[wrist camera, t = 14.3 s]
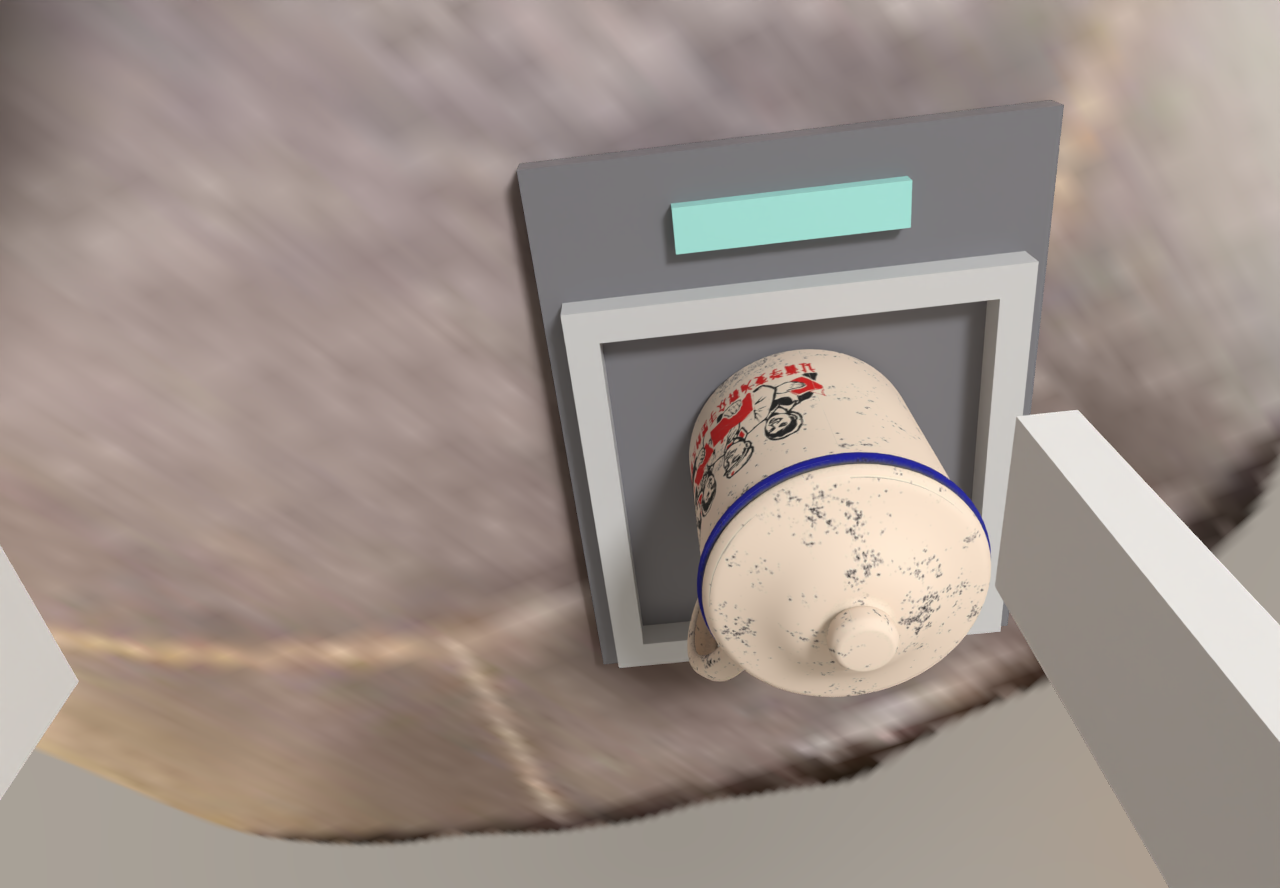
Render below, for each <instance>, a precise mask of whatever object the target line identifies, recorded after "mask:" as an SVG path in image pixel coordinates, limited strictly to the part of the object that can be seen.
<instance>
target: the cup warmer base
mask: <svg viewBox="0 0 1280 888" xmlns="http://www.w3.org/2000/svg"><path fill="white" fill-rule="evenodd" d="M1063 108H1064V105H1062V104H1060V103H1057V102H1055V101H1052V100H1047V101H1039V102H1031V103H1022V104H1014V105H1006V106H997V107H989V108H981V109H972V110H964V111H956V112H947V113H939V114H931V115H922V116H914V117H906V118H897V119H889V120H881V121H872V122H864V123H855V124H847V125H839V126H830V127H822V128H814V129H805V130H797V131H789V132H780V133H772V134H764V135H755V136H747V137H739V138H730V139H722V140H714V141H705V142H697V143H689V144H680V145H672V146H664V147H655V148H647V149H638V150H630V151H622V152H613V153H605V154H597V155H588V156H580V157H572V158H563V159H555V160H547V161H538V162H530V163H522V164H519V166H518V168H517V176H518V181H519V187H520V193H521V198H522V204H523V210H524V215H525V221H526V227H527V232H528V238H529V244H530V249H531V255H532V261H533V266H534V272H535V278H536V283H537V289H538V295H539V300H540V306H541V312H542V317H543V323H544V329H545V334H546V340H547V346H548V351H549V357H550V363H551V368H552V374H553V380H554V385H555V391H556V397H557V402H558V408H559V414H560V419H561V425H562V431H563V436H564V442H565V448H566V453H567V459H568V465H569V470H570V476H571V482H572V487H573V493H574V499H575V504H576V510H577V516H578V521H579V527H580V533H581V538H582V544H583V550H584V555H585V561H586V567H587V572H588V578H589V584H590V589H591V595H592V601H593V606H594V612H595V618H596V623H597V629H598V635H599V640H600V646H601V652H602V657H603V663H604V664H612V663H618V665H619V668H625V667H635V666H646V665H656V664H666V663H677V662H687V661H689V658H688V650H687V641H688V631H689V625H690V621H691V617H692V613H693V610H694V607H695V604H696V601H697V599H698V595H697V574H698V566H699V562H700V557H701V555H700V547H699V539H698V530H697V522H696V514H695V505H694V497H693V489H692V481H691V472H690V464H689V449H690V441H691V436H692V432H693V428H694V425H695V423H696V420H697V418H698V416H699V414H700V412H701V410H702V408H703V407H704V405H705V403H706V402H707V401H708V399H709V398H710V396H711V395H712V394H713V393H714V392H715V391H716V389H717V388H718V387H719V386H720V385H722V384H723V383H724V382H725V381H726V380H727V379H728V378H729V377H731V376H732V375H733V374H735V373H736V372H738V371H739V370H741V369H742V368H744V367H745V366H747V365H749V364H751V363H753V362H755V361H757V360H760V359H762V358H764V357H767V356H770V355H773V354H777V353H781V352H786V351H792V350H802V349H819V350H828V351H834V352H838V353H843V354H846V355H849V356H852V357H855V358H857V359H859V360H861V361H863V362H865V363H867V364H868V365H870V366H872V367H873V368H875V369H876V370H877V371H879V372H880V373H881V374H882V375H883V376H885V377H886V378H887V379H888V380H889V381H890V382H891V384H892V385H893V386H894V387H895V388H896V390H897V391H898V393H899V394H900V396H901V397H902V399H903V400H904V402H905V404H906V406H907V407H908V409H909V411H910V412H911V414H912V416H913V417H914V419H915V421H916V423H917V424H918V426H919V428H920V429H921V431H922V433H923V434H924V436H925V438H926V440H927V441H928V443H929V445H930V446H931V448H932V450H933V451H934V453H935V455H936V456H937V458H938V460H939V462H940V463H941V465H942V467H943V468H944V470H945V472H946V473H947V475H948V477H949V479H950V480H951V481H953V482H954V483H955V484H956V485H957V486H958V487H959V488H960V489H961V490H963V491H964V493H965V494H966V495H967V496H968V497H969V498H970V500H971V501H972V502H973V504H974V505H975V507H976V508H977V510H978V511H979V513H980V515H981V517H982V519H983V521H984V524H985V527H986V530H987V532H988V536H989V541H990V547H991V578H990V583H989V589H988V592H987V595H986V599H985V602H984V604H983V606H982V609H981V611H980V613H979V615H978V617H977V619H976V621H975V623H974V624H973V626H972V627H971V629H970V630H969V632H968V633H967V634H966V635H969V634H979V633H990V632H1000V629H1001V626H1007V625H1008V615H1009V610H1008V608H1007V606H1006V605H1005V603H1004V601H1003V600H1002V598H1001V596H1000V594H999V593H998V591H997V589H996V587H995V581H996V573H997V565H998V557H999V549H1000V541H1001V534H1002V526H1003V518H1004V510H1005V502H1006V494H1007V487H1008V479H1009V471H1010V463H1011V455H1012V447H1013V440H1014V432H1015V424H1016V416H1025V415H1030V412H1031V403H1032V394H1033V385H1034V376H1035V366H1036V357H1037V348H1038V339H1039V329H1040V320H1041V311H1042V302H1043V292H1044V283H1045V274H1046V265H1047V256H1048V246H1049V237H1050V228H1051V219H1052V209H1053V200H1054V191H1055V182H1056V173H1057V163H1058V154H1059V145H1060V136H1061V126H1062V117H1063ZM718 647H719V644H718Z"/></svg>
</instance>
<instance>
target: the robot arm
mask: <svg viewBox="0 0 1280 888" xmlns="http://www.w3.org/2000/svg"><path fill="white" fill-rule="evenodd" d="M995 587H996V589H997V591H998V593H999V594H1000V596H1001V598H1002V600H1003V601H1004V603H1005V605H1006V606H1007V608H1008V610H1009V612H1010V613H1011V615H1012V617H1013V619H1014V620H1015V622H1016V624H1017V625H1018V627H1019V629H1020V631H1021V632H1022V634H1023V636H1024V638H1025V639H1026V641H1027V643H1028V645H1029V646H1030V648H1031V650H1032V651H1033V653H1034V655H1035V657H1036V658H1037V660H1038V662H1039V664H1040V665H1041V667H1042V669H1043V670H1044V672H1045V674H1046V676H1047V677H1048V679H1049V681H1050V683H1051V684H1052V686H1053V688H1054V690H1055V691H1056V693H1057V695H1058V696H1059V698H1060V700H1061V702H1062V703H1063V705H1064V707H1065V708H1066V710H1067V712H1068V714H1069V715H1070V717H1071V719H1072V720H1073V722H1074V724H1075V726H1076V727H1077V729H1078V731H1079V733H1080V734H1081V736H1082V738H1083V740H1084V741H1085V743H1086V745H1087V747H1088V748H1089V750H1090V752H1091V754H1092V755H1093V757H1094V759H1095V760H1096V762H1097V764H1098V766H1099V767H1100V769H1101V771H1102V772H1103V774H1104V776H1105V778H1106V779H1107V781H1108V783H1109V785H1110V786H1111V788H1112V790H1113V792H1114V793H1115V795H1116V797H1117V799H1118V800H1119V802H1120V804H1121V805H1122V807H1123V809H1124V811H1125V812H1126V814H1127V816H1128V818H1129V819H1130V821H1131V822H1132V824H1133V826H1134V828H1135V830H1136V831H1137V833H1138V835H1139V837H1140V838H1141V840H1142V842H1143V843H1144V845H1145V847H1146V849H1147V850H1148V852H1149V854H1150V856H1151V857H1152V859H1153V861H1154V863H1155V864H1156V866H1157V868H1158V869H1159V871H1160V873H1161V875H1162V876H1163V878H1164V880H1165V881H1166V883H1167V885H1168V887H1169V888H1280V625H1279V624H1278V623H1277V622H1276V621H1275V620H1274V619H1273V618H1272V616H1271V615H1270V614H1269V613H1268V612H1267V611H1266V610H1265V609H1264V608H1263V607H1262V606H1261V605H1260V604H1259V603H1258V602H1257V600H1255V598H1254V597H1253V596H1252V595H1251V594H1250V593H1249V592H1248V591H1247V590H1246V589H1245V588H1244V587H1243V586H1242V584H1241V583H1239V581H1238V580H1237V579H1236V578H1235V577H1234V576H1233V575H1232V574H1231V573H1230V572H1229V571H1228V570H1227V569H1226V568H1225V566H1224V565H1223V564H1222V563H1221V562H1220V561H1219V560H1218V559H1217V558H1216V557H1215V556H1214V555H1213V554H1212V553H1211V551H1210V550H1209V549H1208V548H1207V547H1206V546H1205V545H1204V544H1203V543H1202V542H1201V541H1200V540H1199V539H1198V538H1197V537H1196V535H1195V534H1194V533H1193V532H1192V531H1191V530H1190V529H1189V528H1188V527H1187V526H1186V525H1185V524H1184V523H1183V522H1182V521H1181V520H1180V518H1179V517H1178V516H1177V515H1176V514H1175V513H1174V512H1173V511H1172V510H1171V509H1170V508H1169V507H1168V506H1167V505H1166V504H1165V502H1164V501H1163V500H1162V499H1161V498H1160V497H1159V496H1158V495H1157V494H1156V493H1155V492H1154V491H1153V490H1152V489H1151V488H1150V486H1149V485H1148V484H1147V483H1146V482H1145V481H1144V480H1143V479H1142V478H1141V477H1140V476H1139V475H1138V474H1137V473H1136V472H1135V471H1134V469H1133V468H1132V467H1131V466H1130V465H1129V464H1128V463H1127V462H1126V461H1125V460H1124V459H1123V458H1122V457H1121V456H1120V455H1119V453H1118V452H1117V451H1116V450H1115V449H1114V448H1113V447H1112V446H1111V445H1110V444H1109V443H1108V442H1107V441H1106V440H1105V439H1104V437H1103V436H1102V435H1101V434H1100V433H1099V432H1098V431H1097V430H1096V429H1095V428H1094V427H1093V426H1092V425H1091V424H1090V423H1089V422H1088V420H1087V419H1086V418H1085V417H1084V416H1083V415H1082V414H1081V413H1080V412H1079V411H1078V410H1072V411H1063V412H1053V413H1044V414H1035V415H1025V416H1016V424H1015V432H1014V440H1013V447H1012V455H1011V463H1010V471H1009V479H1008V487H1007V494H1006V502H1005V510H1004V518H1003V526H1002V534H1001V541H1000V549H999V557H998V565H997V573H996V581H995ZM78 682H79V681H78V679H77V677H76V676H75V674H74V672H73V670H72V669H71V667H70V665H69V664H68V662H67V660H66V658H65V657H64V655H63V653H62V651H61V650H60V648H59V646H58V644H57V643H56V641H55V639H54V638H53V636H52V634H51V632H50V631H49V629H48V627H47V625H46V624H45V622H44V620H43V618H42V617H41V615H40V613H39V611H38V610H37V608H36V606H35V605H34V603H33V601H32V599H31V598H30V596H29V594H28V592H27V591H26V589H25V587H24V585H23V584H22V582H21V580H20V579H19V577H18V575H17V573H16V572H15V570H14V568H13V566H12V565H11V563H10V561H9V559H8V558H7V556H6V554H5V552H4V551H3V549H2V547H1V546H0V800H1V798H2V797H3V795H4V794H5V792H6V791H7V789H8V788H9V786H10V785H11V783H12V782H13V780H14V779H15V777H16V776H17V774H18V773H19V771H20V769H21V768H22V767H23V765H24V763H25V762H26V760H27V759H28V757H29V756H30V754H31V753H32V751H33V750H34V748H35V747H36V745H37V744H38V742H39V741H40V739H41V738H42V736H43V735H44V733H45V732H46V730H47V729H48V727H49V726H50V724H51V723H52V721H53V720H54V718H55V717H56V715H57V714H58V712H59V711H60V709H61V708H62V706H63V705H64V703H65V702H66V700H67V698H68V697H69V695H70V694H71V692H72V691H73V689H74V688H75V686H76V685H77V683H78Z"/></svg>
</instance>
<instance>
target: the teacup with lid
mask: <svg viewBox="0 0 1280 888" xmlns="http://www.w3.org/2000/svg"><path fill="white" fill-rule="evenodd" d="M689 464H690V472H691V481H692V489H693V497H694V505H695V514H696V522H697V530H698V539H699V547H700V555H701V557H700V562H699V566H698V574H697V595H698V599H697V601H696V604H695V607H694V610H693V613H692V617H691V621H690V625H689V631H688V641H687V650H688V658H689V662H690V664H691V666H692V668H693V669H694V670H695V671H696V672H697V673H698V674H700V675H702V676H704V677H705V678H707V679H710V680H712V681H726V680H729V679H731V678H733V677H735V676H737V675H738V674H740V673H741V672H742V671H743V670H745V671H746V672H748V673H749V674H750V675H752V676H754V677H755V678H757V679H759V680H761V681H763V682H765V683H767V684H769V685H771V686H774V687H777V688H780V689H782V690H786V691H789V692H793V693H798V694H803V695H809V696H819V697H845V696H854V695H861V694H867V693H872V692H876V691H879V690H883V689H886V688H889V687H892V686H895V685H898V684H900V683H902V682H905V681H907V680H909V679H911V678H913V677H915V676H917V675H919V674H921V673H922V672H924V671H926V670H927V669H929V668H931V667H932V666H933V665H935V664H936V663H938V662H939V661H940V660H941V659H943V658H944V657H945V656H946V655H947V654H949V653H950V652H951V651H952V650H953V649H954V648H955V647H956V646H957V645H958V644H959V643H960V642H961V640H962V639H963V638H964V637H965V636H966V634H967V633H968V632H969V630H970V629H971V627H972V626H973V624H974V623H975V621H976V619H977V617H978V615H979V613H980V611H981V609H982V606H983V604H984V602H985V599H986V595H987V592H988V589H989V583H990V578H991V547H990V541H989V536H988V532H987V530H986V527H985V524H984V521H983V519H982V517H981V515H980V513H979V511H978V510H977V508H976V507H975V505H974V504H973V502H972V501H971V500H970V498H969V497H968V496H967V495H966V494H965V493H964V491H963V490H961V489H960V488H959V487H958V486H957V485H956V484H955V483H954V482H953V481H951V480H950V479H949V477H948V475H947V473H946V472H945V470H944V468H943V467H942V465H941V463H940V462H939V460H938V458H937V456H936V455H935V453H934V451H933V450H932V448H931V446H930V445H929V443H928V441H927V440H926V438H925V436H924V434H923V433H922V431H921V429H920V428H919V426H918V424H917V423H916V421H915V419H914V417H913V416H912V414H911V412H910V411H909V409H908V407H907V406H906V404H905V402H904V400H903V399H902V397H901V396H900V394H899V393H898V391H897V390H896V388H895V387H894V386H893V385H892V384H891V382H890V381H889V380H888V379H887V378H886V377H885V376H883V375H882V374H881V373H880V372H879V371H877V370H876V369H875V368H873V367H872V366H870V365H868V364H867V363H865V362H863V361H861V360H859V359H857V358H855V357H852V356H849V355H846V354H843V353H838V352H834V351H828V350H819V349H802V350H792V351H786V352H781V353H777V354H773V355H770V356H767V357H764V358H762V359H760V360H757V361H755V362H753V363H751V364H749V365H747V366H745V367H744V368H742V369H741V370H739V371H738V372H736V373H735V374H733V375H732V376H731V377H729V378H728V379H727V380H726V381H725V382H724V383H723V384H722V385H720V386H719V387H718V388H717V389H716V391H715V392H714V393H713V394H712V395H711V396H710V398H709V399H708V401H707V402H706V403H705V405H704V407H703V408H702V410H701V412H700V414H699V416H698V418H697V420H696V423H695V425H694V428H693V432H692V436H691V441H690V449H689ZM718 644H719V647H718Z"/></svg>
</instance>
